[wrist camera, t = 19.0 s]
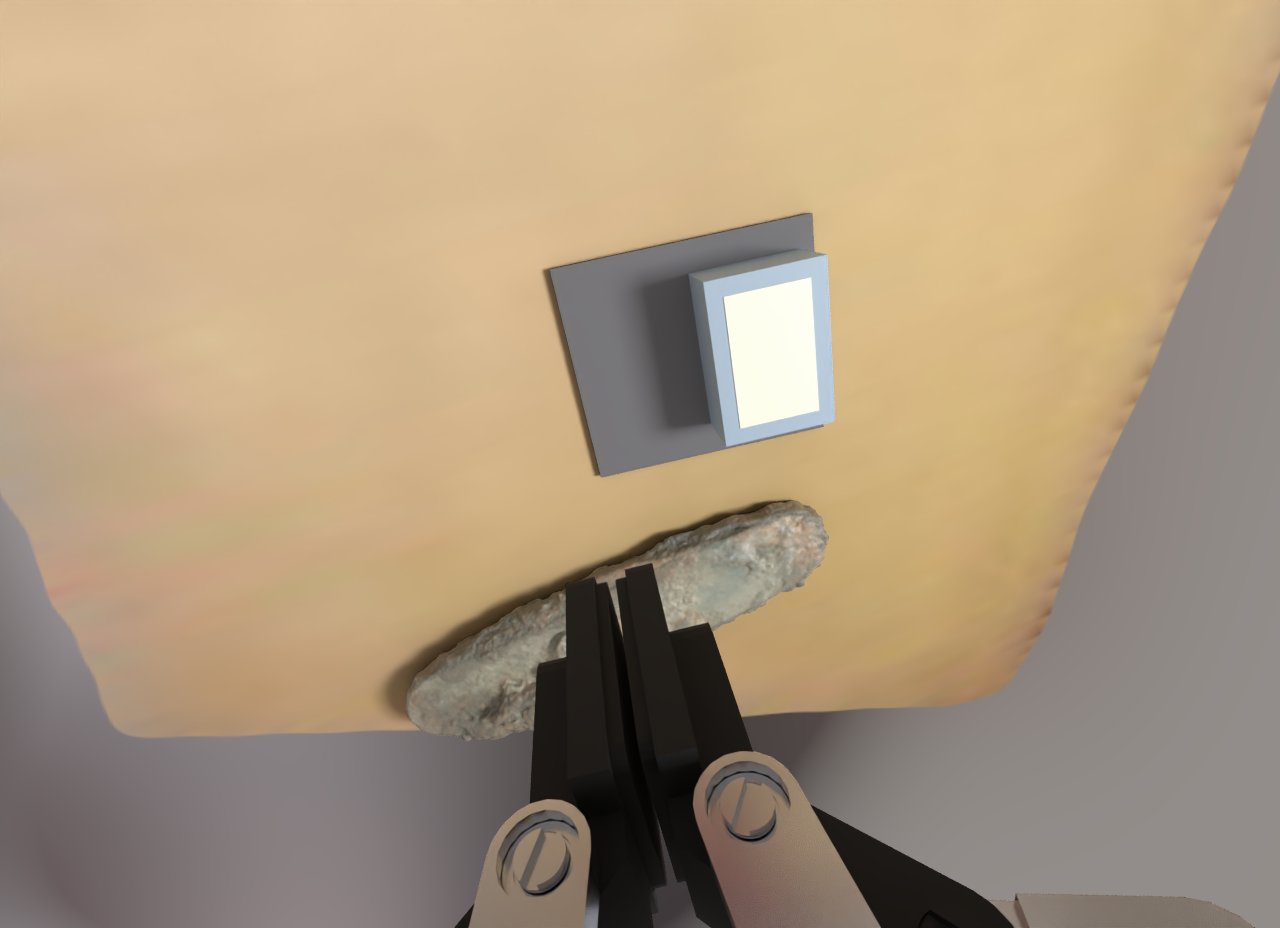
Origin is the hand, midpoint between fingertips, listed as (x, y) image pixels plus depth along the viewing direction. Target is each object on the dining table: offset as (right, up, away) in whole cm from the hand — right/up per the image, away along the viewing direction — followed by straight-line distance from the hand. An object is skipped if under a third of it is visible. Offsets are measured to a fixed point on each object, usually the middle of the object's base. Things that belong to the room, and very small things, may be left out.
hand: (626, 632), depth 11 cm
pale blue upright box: (+4, +10, +24) cm, 26 cm away
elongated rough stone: (-2, -8, +35) cm, 36 cm away
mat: (+4, +10, +27) cm, 29 cm away
